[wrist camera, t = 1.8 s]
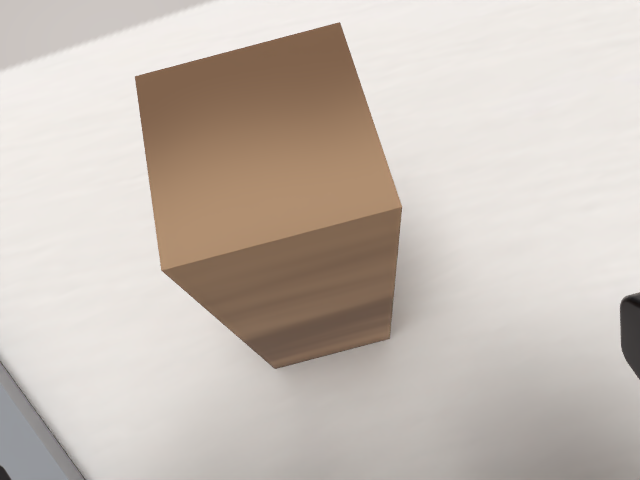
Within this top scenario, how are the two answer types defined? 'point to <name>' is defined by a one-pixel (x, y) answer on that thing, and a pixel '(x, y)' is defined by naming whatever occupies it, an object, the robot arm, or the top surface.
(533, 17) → the top surface
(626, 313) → the robot arm
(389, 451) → the top surface
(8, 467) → the slate plate
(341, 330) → the brown wooden block
